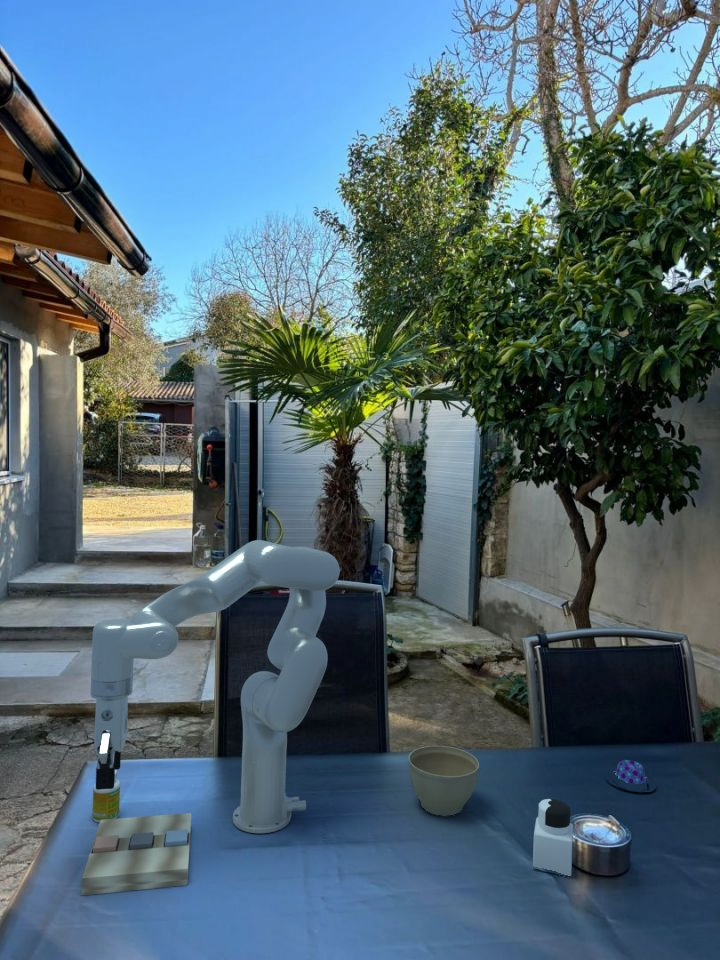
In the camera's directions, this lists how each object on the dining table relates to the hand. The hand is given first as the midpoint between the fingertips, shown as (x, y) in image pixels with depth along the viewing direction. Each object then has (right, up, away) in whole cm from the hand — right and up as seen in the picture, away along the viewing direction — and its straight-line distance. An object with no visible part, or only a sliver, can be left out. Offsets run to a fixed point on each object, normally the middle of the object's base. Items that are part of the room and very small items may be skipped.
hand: (108, 778), depth 125 cm
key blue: (+12, -14, +3) cm, 19 cm away
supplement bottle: (-7, -16, +16) cm, 24 cm away
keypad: (+6, -16, +1) cm, 17 cm away
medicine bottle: (+86, -19, +4) cm, 88 cm away
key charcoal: (+6, -14, +1) cm, 15 cm away
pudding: (+117, -21, +41) cm, 125 cm away
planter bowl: (+67, -19, +26) cm, 74 cm away
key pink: (0, -14, 0) cm, 14 cm away
